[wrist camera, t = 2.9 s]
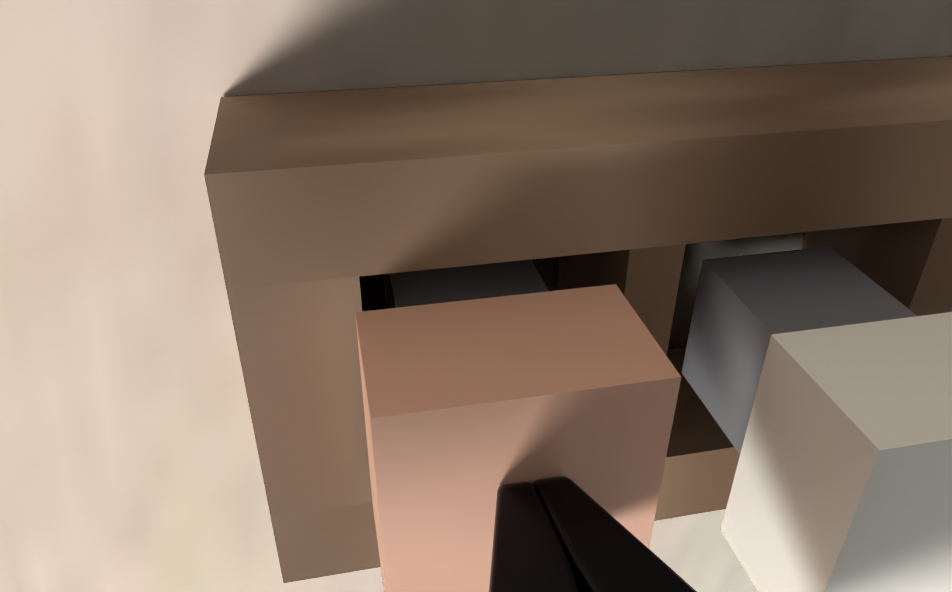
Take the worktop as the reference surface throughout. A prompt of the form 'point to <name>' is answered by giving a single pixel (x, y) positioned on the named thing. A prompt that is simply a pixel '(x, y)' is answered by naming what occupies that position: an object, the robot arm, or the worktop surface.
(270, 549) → the worktop surface
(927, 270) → the key panel
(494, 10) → the worktop surface
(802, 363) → the key ivory
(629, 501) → the key terracotta
